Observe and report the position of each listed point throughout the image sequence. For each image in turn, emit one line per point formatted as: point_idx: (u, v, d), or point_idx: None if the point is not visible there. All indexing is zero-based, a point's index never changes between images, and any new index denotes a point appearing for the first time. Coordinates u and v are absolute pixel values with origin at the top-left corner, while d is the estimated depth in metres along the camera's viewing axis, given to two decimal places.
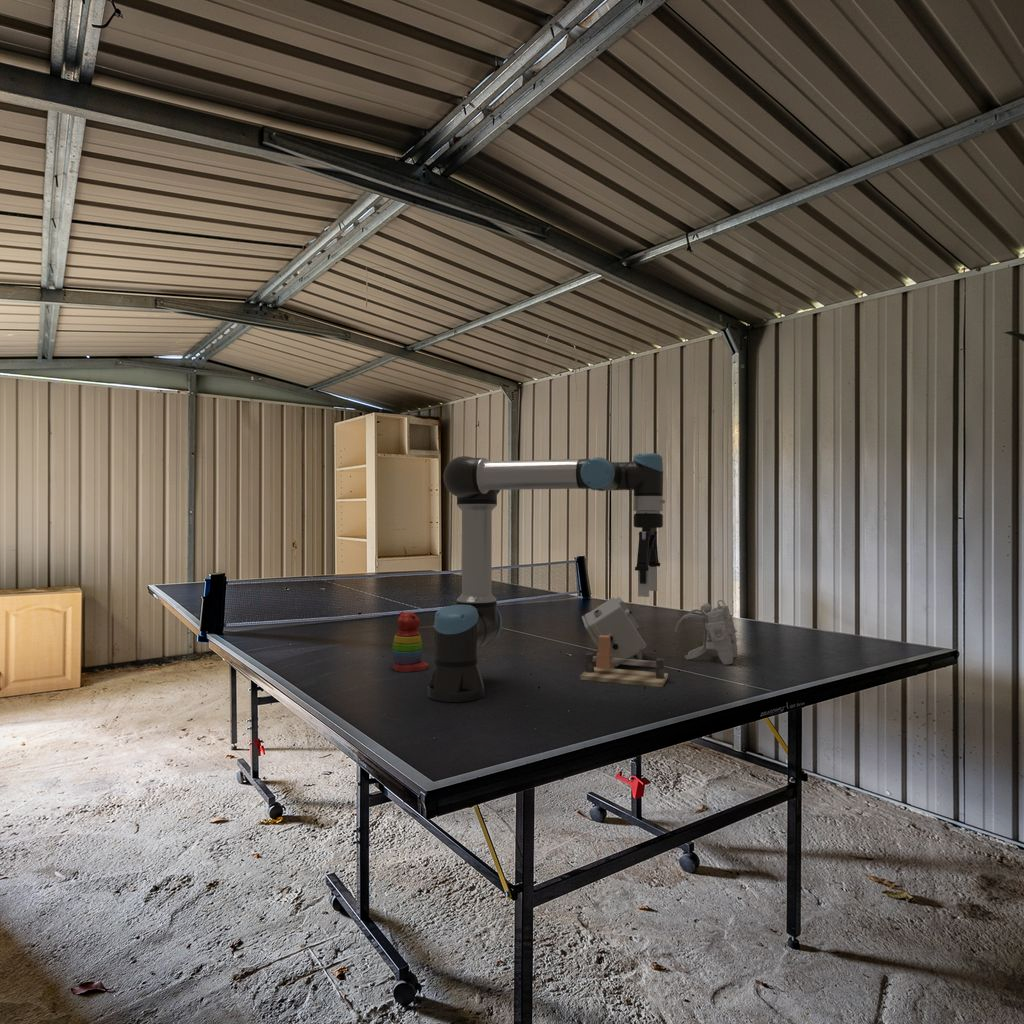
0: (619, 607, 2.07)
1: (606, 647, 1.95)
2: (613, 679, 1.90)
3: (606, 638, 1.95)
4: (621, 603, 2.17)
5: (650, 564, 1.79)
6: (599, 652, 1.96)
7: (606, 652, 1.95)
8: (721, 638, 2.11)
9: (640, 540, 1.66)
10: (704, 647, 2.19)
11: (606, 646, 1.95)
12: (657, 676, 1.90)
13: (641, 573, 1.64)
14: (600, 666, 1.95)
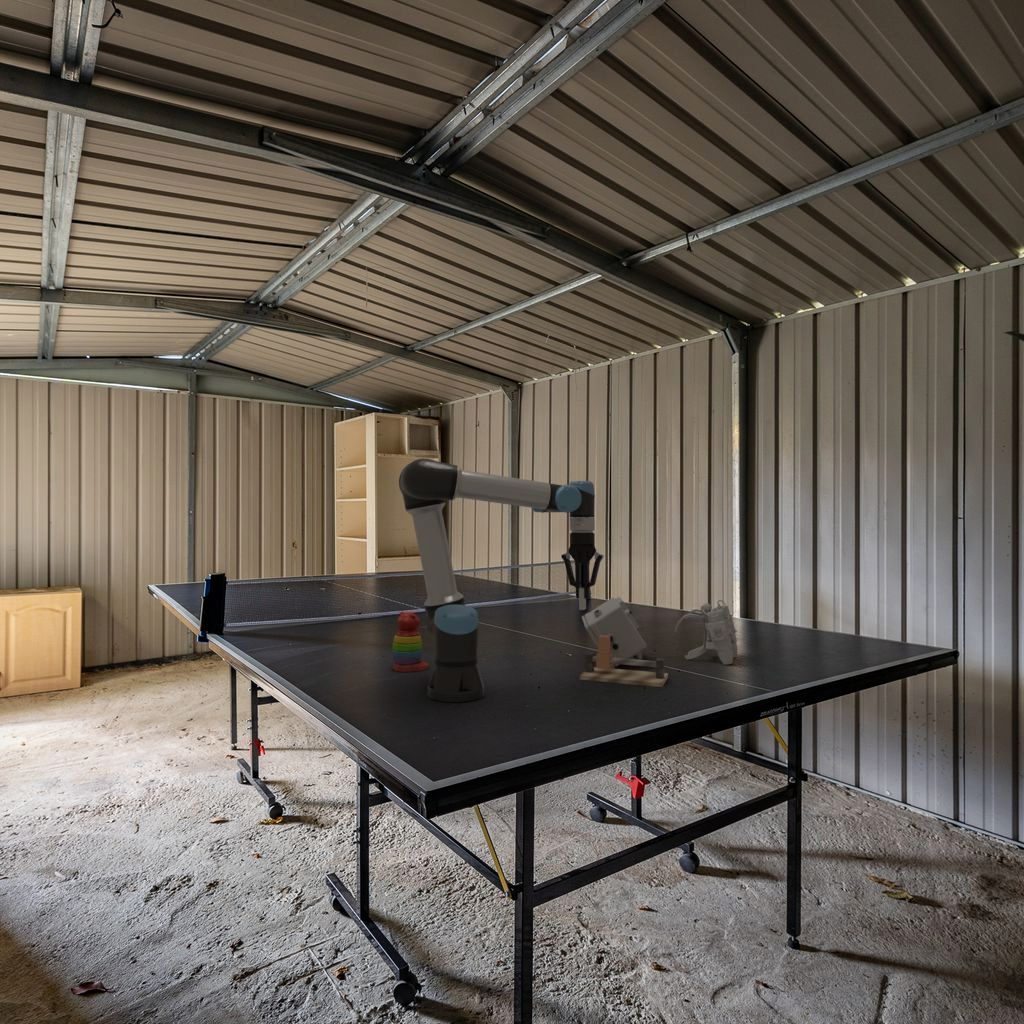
0: (619, 607, 2.07)
1: (606, 647, 1.95)
2: (613, 679, 1.90)
3: (606, 638, 1.95)
4: (621, 603, 2.17)
5: None
6: (599, 652, 1.96)
7: (606, 652, 1.95)
8: (721, 638, 2.11)
9: None
10: (704, 647, 2.19)
11: (606, 646, 1.95)
12: (657, 676, 1.90)
13: None
14: (600, 666, 1.95)
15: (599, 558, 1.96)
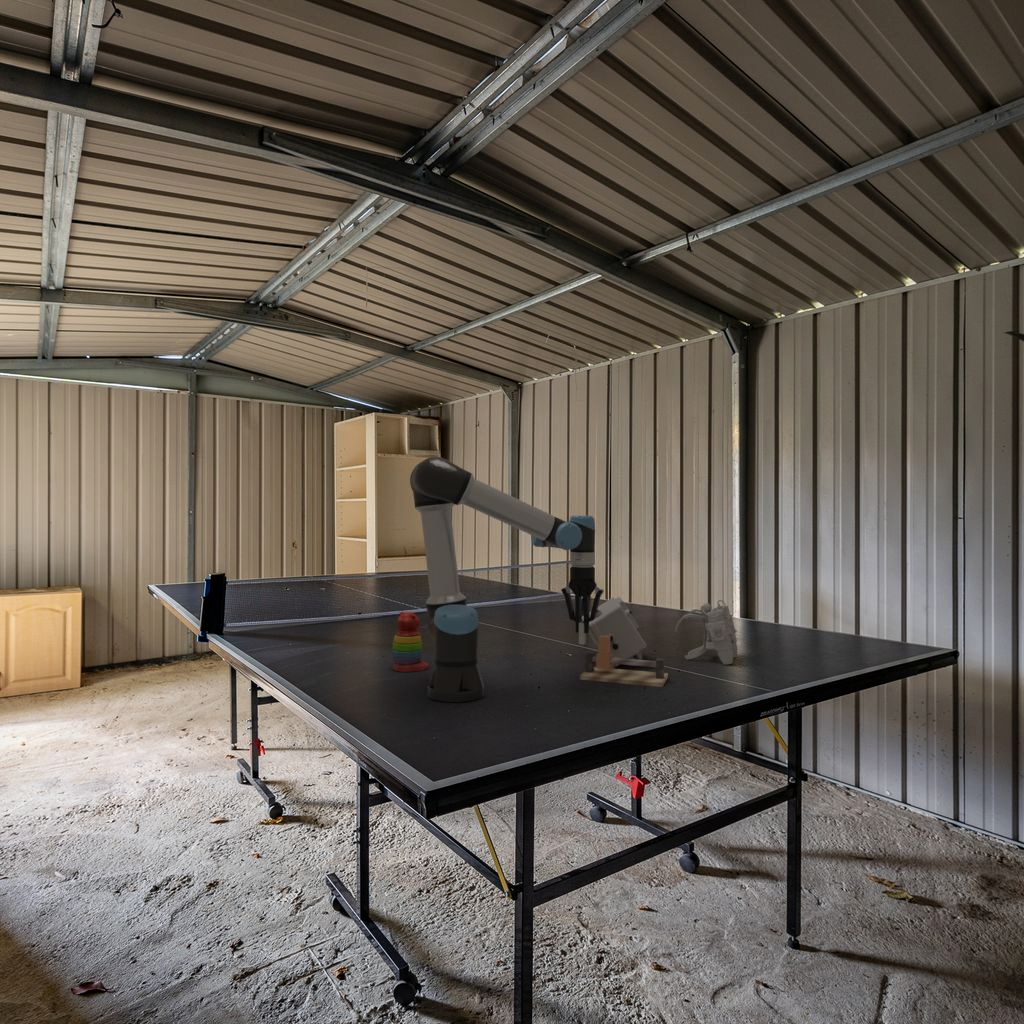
0: (619, 607, 2.07)
1: (606, 647, 1.95)
2: (613, 679, 1.90)
3: (606, 638, 1.95)
4: (621, 603, 2.17)
5: None
6: (599, 652, 1.96)
7: (606, 652, 1.95)
8: (721, 638, 2.11)
9: None
10: (704, 647, 2.19)
11: (606, 646, 1.95)
12: (657, 676, 1.90)
13: None
14: (600, 666, 1.95)
15: (599, 593, 1.96)
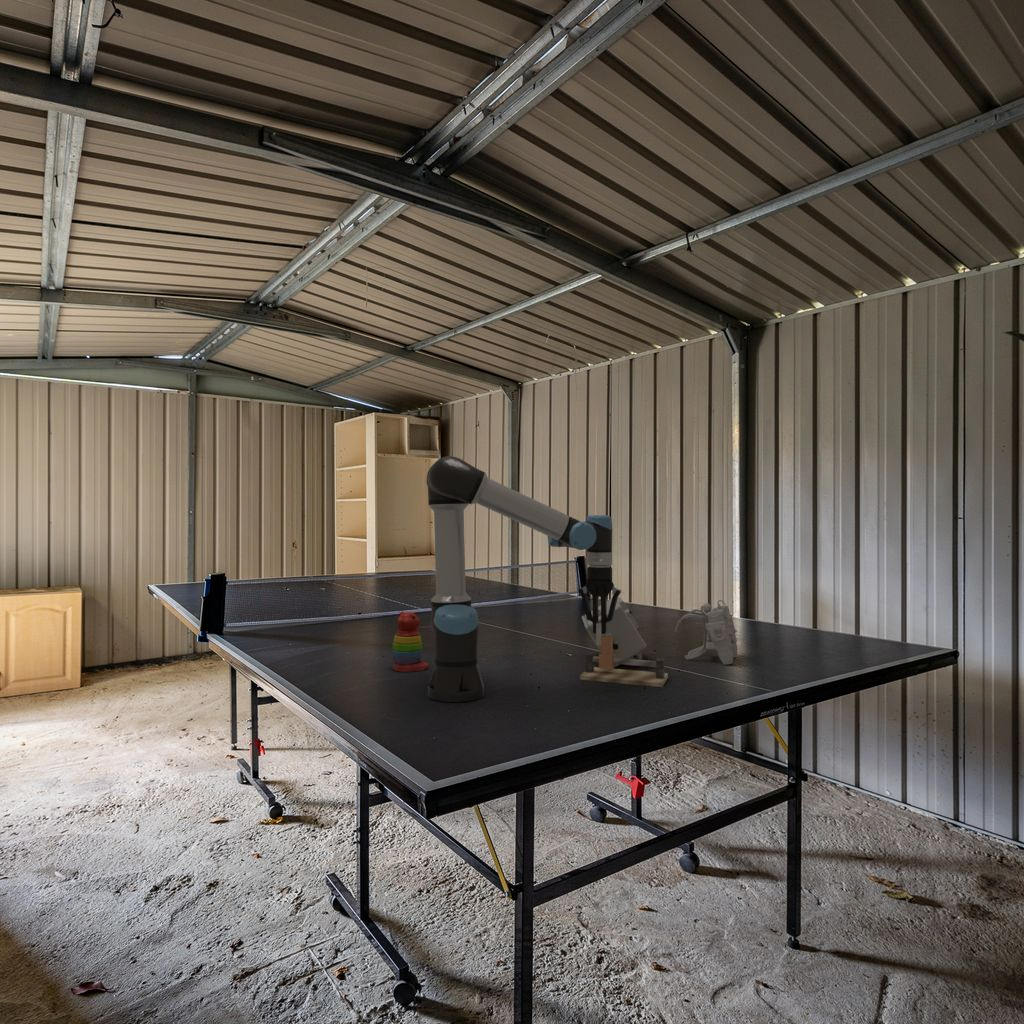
0: (619, 607, 2.07)
1: (609, 647, 1.95)
2: (613, 679, 1.90)
3: (609, 638, 1.95)
4: (621, 603, 2.17)
5: None
6: (601, 652, 1.96)
7: (609, 652, 1.95)
8: (721, 638, 2.11)
9: None
10: (704, 647, 2.19)
11: (609, 646, 1.95)
12: (657, 676, 1.90)
13: None
14: (602, 666, 1.95)
15: (617, 593, 1.94)
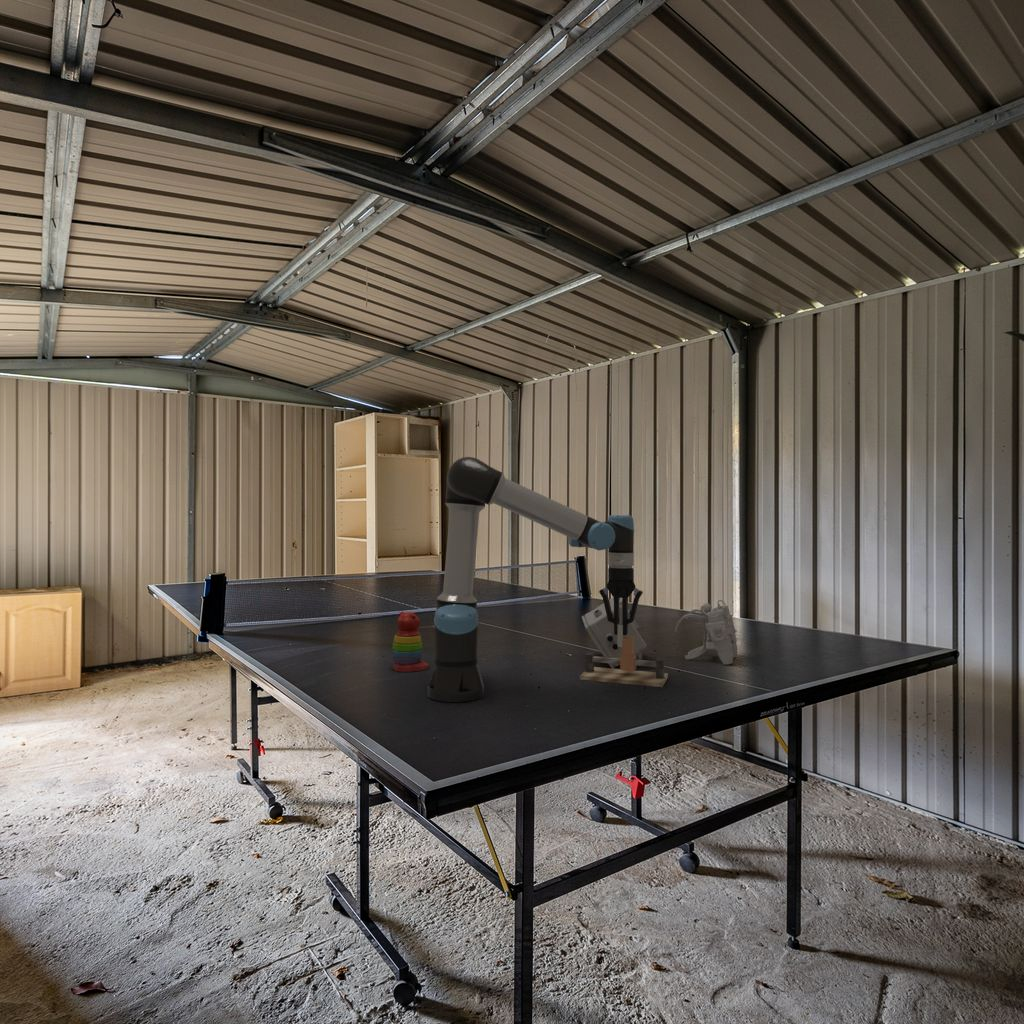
0: (619, 607, 2.07)
1: (630, 649, 1.93)
2: (613, 679, 1.90)
3: (630, 640, 1.93)
4: (621, 603, 2.17)
5: None
6: (623, 654, 1.93)
7: (630, 654, 1.93)
8: (721, 638, 2.11)
9: None
10: (704, 647, 2.19)
11: (630, 648, 1.93)
12: (657, 676, 1.90)
13: None
14: (624, 668, 1.93)
15: (639, 594, 1.92)
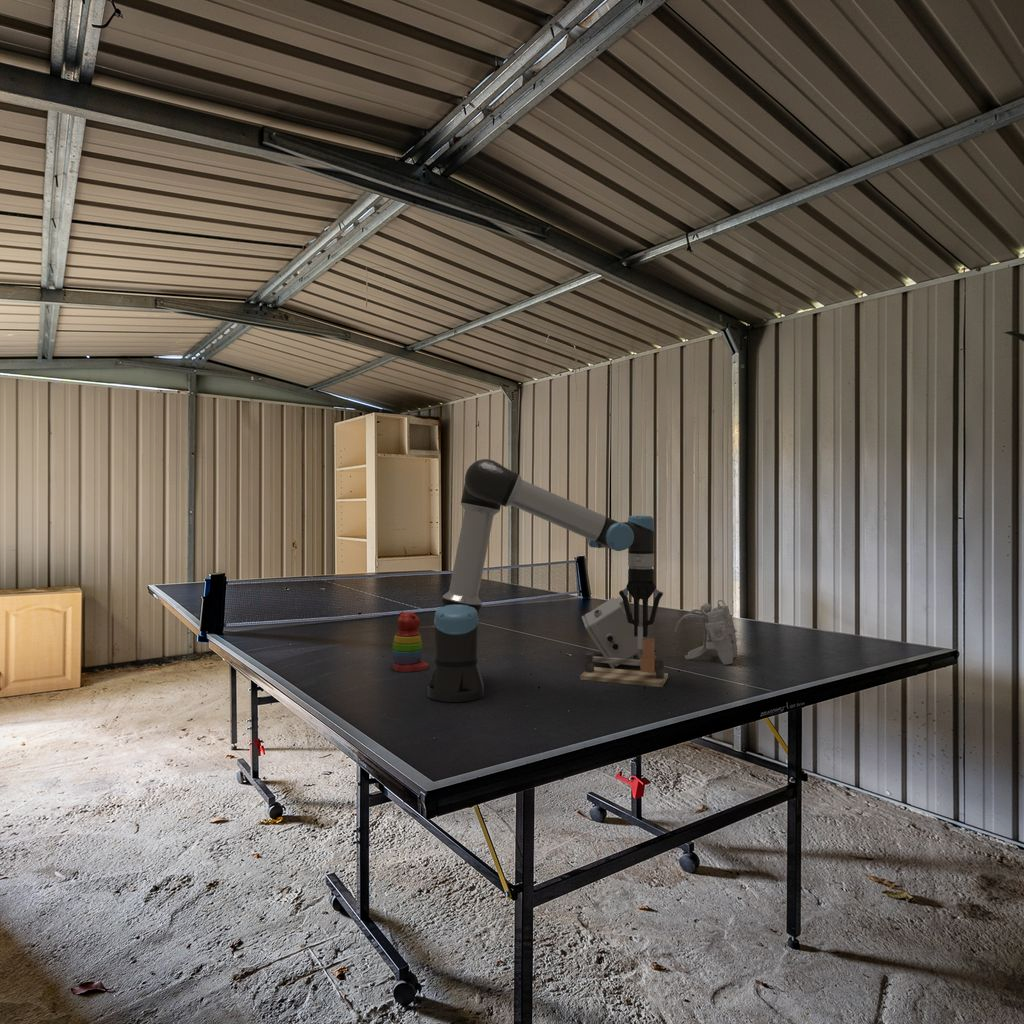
0: (619, 607, 2.07)
1: (651, 650, 1.91)
2: (613, 679, 1.90)
3: (651, 641, 1.91)
4: (621, 603, 2.17)
5: None
6: (643, 655, 1.91)
7: (651, 655, 1.91)
8: (721, 638, 2.11)
9: None
10: (704, 647, 2.19)
11: (651, 649, 1.91)
12: (657, 676, 1.90)
13: None
14: (644, 670, 1.91)
15: (659, 596, 1.90)
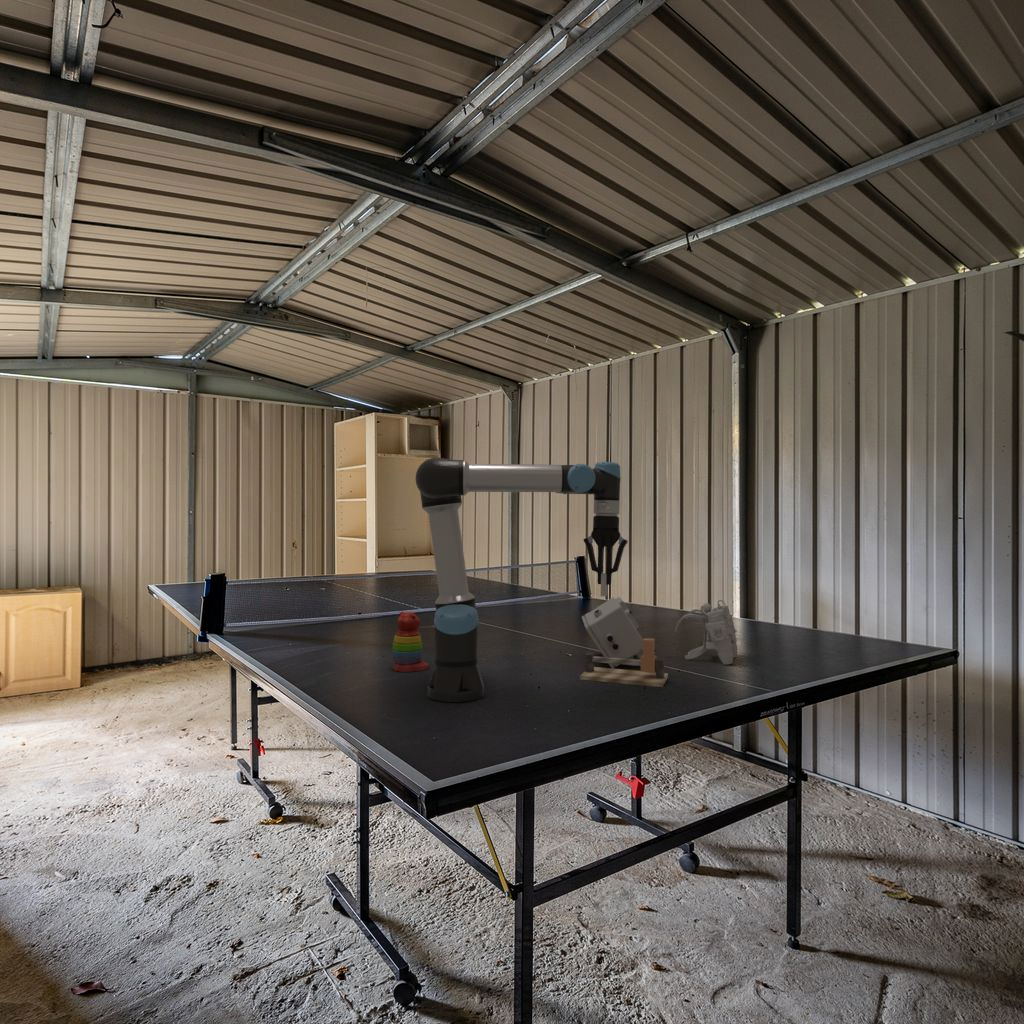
0: (619, 607, 2.07)
1: (651, 650, 1.91)
2: (613, 679, 1.90)
3: (651, 641, 1.91)
4: (621, 603, 2.17)
5: None
6: (643, 655, 1.91)
7: (651, 655, 1.90)
8: (721, 638, 2.11)
9: None
10: (704, 647, 2.19)
11: (651, 649, 1.91)
12: (657, 676, 1.90)
13: None
14: (645, 670, 1.91)
15: (623, 543, 1.89)
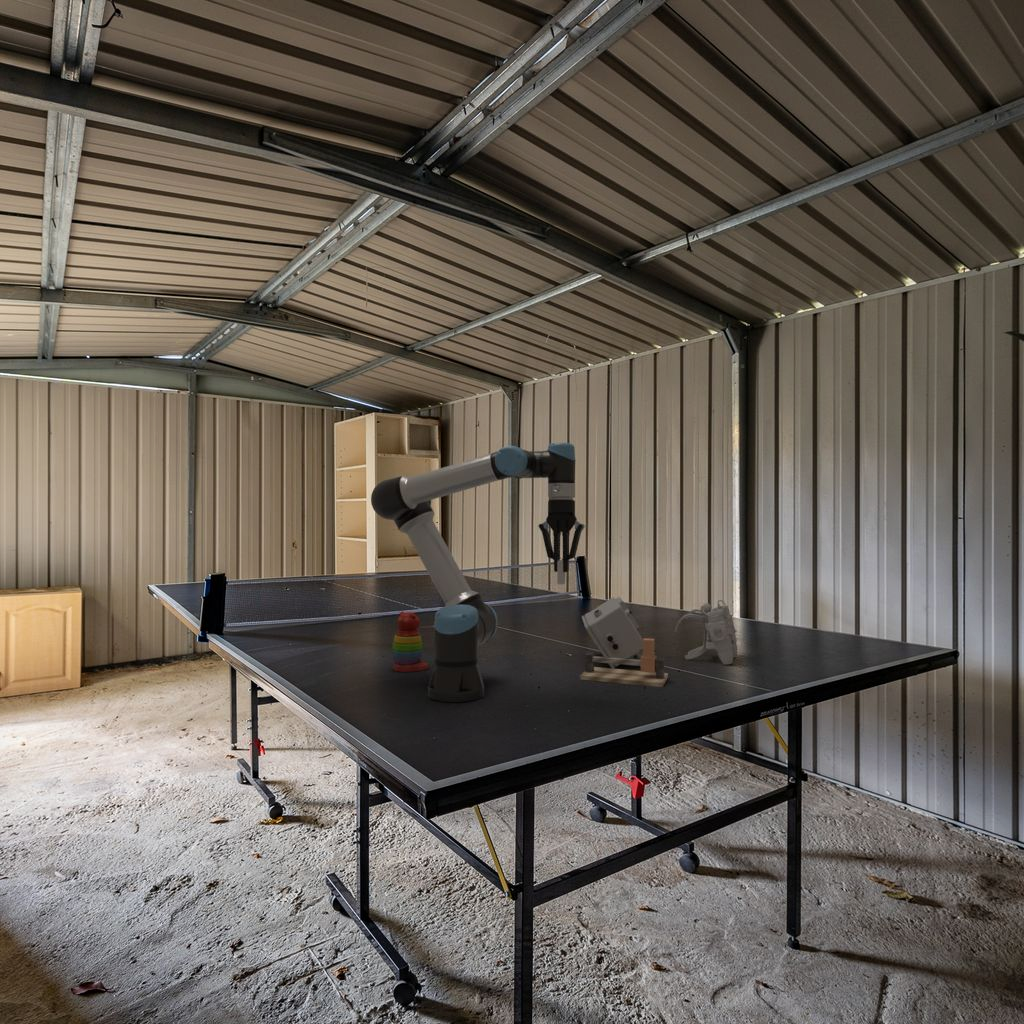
0: (619, 607, 2.07)
1: (651, 650, 1.91)
2: (613, 679, 1.90)
3: (651, 641, 1.91)
4: (621, 603, 2.17)
5: None
6: (643, 655, 1.91)
7: (651, 655, 1.90)
8: (721, 638, 2.11)
9: None
10: (704, 647, 2.19)
11: (651, 649, 1.91)
12: (657, 676, 1.90)
13: None
14: (645, 670, 1.91)
15: (579, 527, 1.79)
